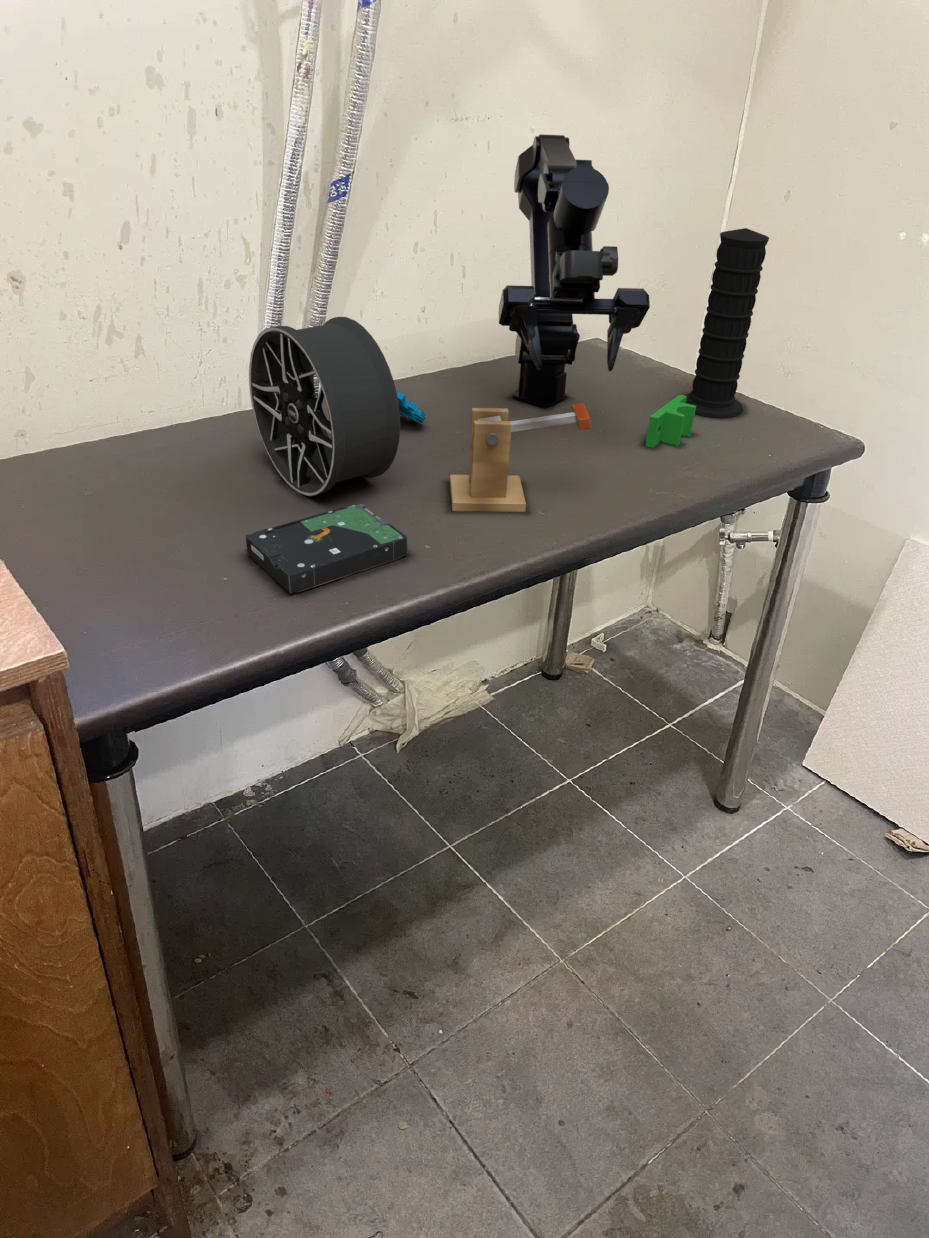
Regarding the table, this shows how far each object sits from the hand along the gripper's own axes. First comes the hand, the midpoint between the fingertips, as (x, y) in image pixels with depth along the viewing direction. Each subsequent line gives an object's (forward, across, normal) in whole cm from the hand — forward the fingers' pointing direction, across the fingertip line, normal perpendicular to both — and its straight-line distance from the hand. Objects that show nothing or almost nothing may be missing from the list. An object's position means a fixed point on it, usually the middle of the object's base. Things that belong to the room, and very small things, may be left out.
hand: (575, 369), depth 116 cm
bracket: (+16, -12, +3) cm, 20 cm away
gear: (0, -23, +20) cm, 30 cm away
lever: (+10, -6, -3) cm, 12 cm away
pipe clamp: (+3, +18, +17) cm, 25 cm away
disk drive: (+27, -30, -8) cm, 41 cm away
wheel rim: (+13, -32, +6) cm, 35 cm away
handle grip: (-6, +27, +26) cm, 38 cm away
